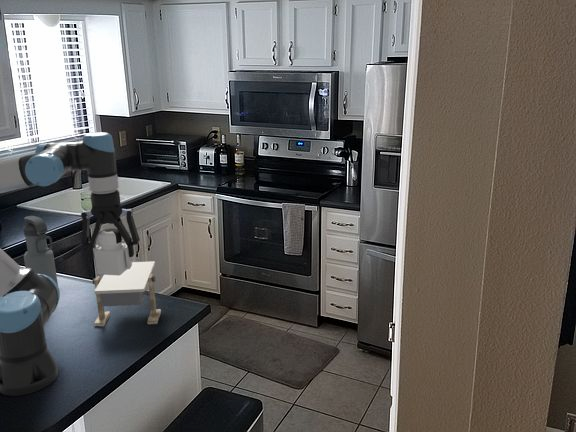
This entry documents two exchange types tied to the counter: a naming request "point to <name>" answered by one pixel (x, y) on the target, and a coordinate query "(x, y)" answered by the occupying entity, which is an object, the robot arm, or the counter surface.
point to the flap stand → (104, 316)
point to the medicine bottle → (110, 253)
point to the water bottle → (38, 248)
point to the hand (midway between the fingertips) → (114, 267)
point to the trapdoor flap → (125, 285)
